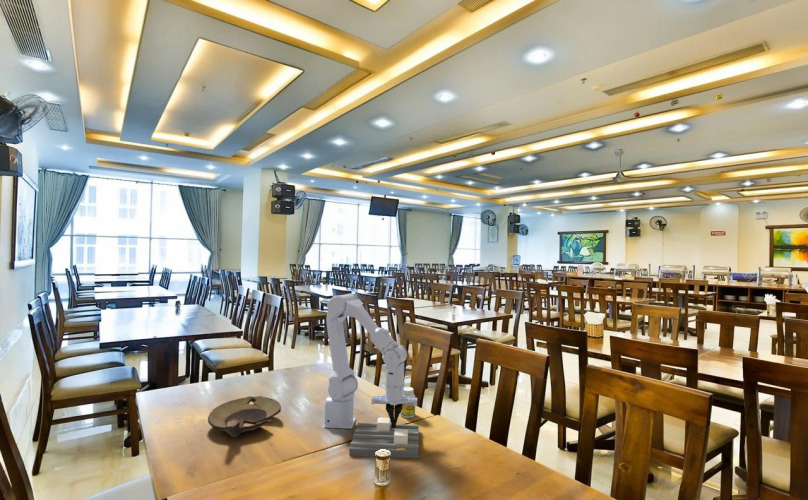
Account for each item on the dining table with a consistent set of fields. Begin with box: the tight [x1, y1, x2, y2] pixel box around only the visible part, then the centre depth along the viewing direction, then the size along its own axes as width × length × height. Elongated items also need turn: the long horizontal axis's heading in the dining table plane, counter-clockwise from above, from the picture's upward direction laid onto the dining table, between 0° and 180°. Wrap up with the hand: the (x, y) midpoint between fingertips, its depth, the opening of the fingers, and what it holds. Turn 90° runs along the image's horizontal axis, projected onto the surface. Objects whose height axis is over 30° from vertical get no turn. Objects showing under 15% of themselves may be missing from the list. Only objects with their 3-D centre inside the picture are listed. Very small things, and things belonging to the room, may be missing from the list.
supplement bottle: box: [399, 386, 416, 419], centre depth 143 cm, size 5×5×10 cm
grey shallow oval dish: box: [207, 395, 282, 438], centre depth 131 cm, size 22×30×8 cm
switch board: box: [348, 422, 420, 459], centre depth 123 cm, size 20×17×3 cm
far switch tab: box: [376, 416, 391, 431], centre depth 127 cm, size 4×4×3 cm
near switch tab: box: [394, 429, 408, 444], centre depth 118 cm, size 4×4×3 cm
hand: (393, 426), depth 127 cm, fingers closed
